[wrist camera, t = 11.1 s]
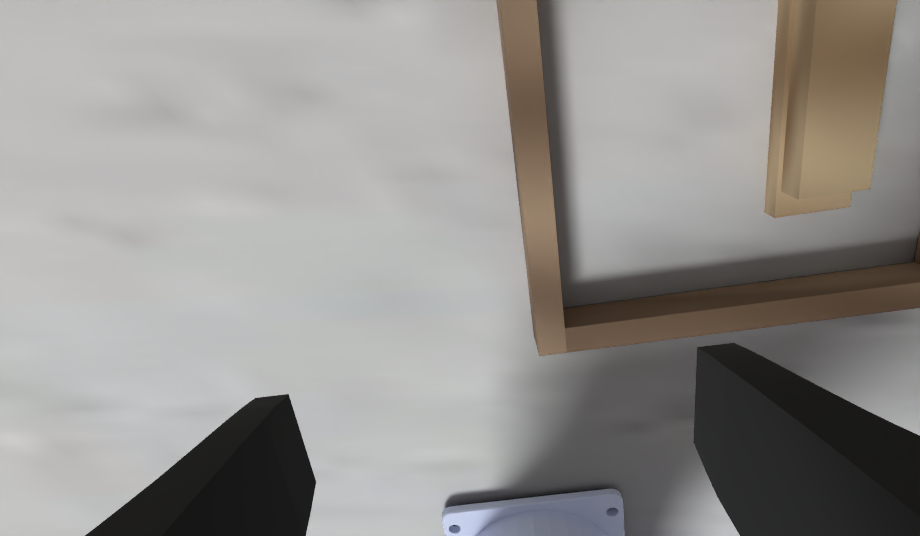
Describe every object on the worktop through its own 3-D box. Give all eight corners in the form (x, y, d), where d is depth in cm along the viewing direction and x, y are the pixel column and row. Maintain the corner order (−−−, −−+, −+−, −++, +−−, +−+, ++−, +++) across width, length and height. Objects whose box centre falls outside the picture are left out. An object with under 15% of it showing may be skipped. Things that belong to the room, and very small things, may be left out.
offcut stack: (830, 198, 19) (870, 215, 17) (759, 209, 19) (791, 226, 17) (860, -58, 16) (912, -72, 14) (775, -44, 16) (815, -55, 14)
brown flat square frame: (937, 283, 20) (973, 300, 18) (534, 335, 21) (539, 355, 19) (1056, -279, 14) (1123, -316, 12) (477, -171, 15) (478, -193, 13)
